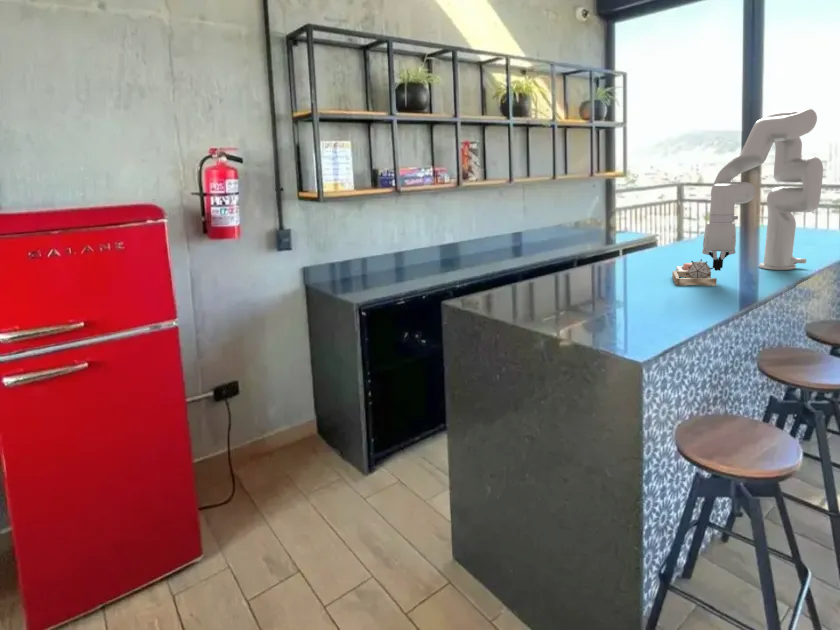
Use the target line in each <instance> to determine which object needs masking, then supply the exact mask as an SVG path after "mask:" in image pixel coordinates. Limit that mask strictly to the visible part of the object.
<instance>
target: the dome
mask: <svg viewBox="0 0 840 630" xmlns="http://www.w3.org/2000/svg"><path fill="white" fill-rule="evenodd" d="M691 265H692V262H684V263H683V265H682V266H683V270H689V268H688V267H690V266H691Z"/></svg>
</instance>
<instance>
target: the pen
mask: <svg viewBox="0 0 840 630" xmlns="http://www.w3.org/2000/svg"><path fill="white" fill-rule="evenodd" d="M686 273H688V271H676V270H672V274H671V277H672V280H673V282H674V285H675V284H676V285H675V286H687V285H702V287H717V281H718V280H717V278H711V276H712V271H711V270H710V273H709V274H710V275H711V276H708V277H707V278H691V277H690V276H689V275H688V274H687V275H686ZM679 277H684V278H679ZM685 277H686V278H685ZM703 285H704V286H703ZM705 285H706V286H705ZM711 285H712V286H711Z"/></svg>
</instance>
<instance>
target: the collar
mask: <svg viewBox="0 0 840 630" xmlns="http://www.w3.org/2000/svg"><path fill="white" fill-rule="evenodd" d="M675 268H676V269H675V271H689V270H683V265H681V266H680V265H677V266H675Z"/></svg>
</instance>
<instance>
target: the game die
mask: <svg viewBox="0 0 840 630" xmlns="http://www.w3.org/2000/svg"><path fill="white" fill-rule="evenodd" d="M690 263H692V265H691V266H690V267H688V268H689V271H688V273H686V275H687V274H688V275H689V276H690V277H691V278H707V277H708V276H712V274H711V275H710V274H709V273H710V271H711V270H714V268H713V267H710V265H708V264H707V263H708V261H703V260H702V259H700V260H699V261H693V260H691V262H690Z"/></svg>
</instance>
